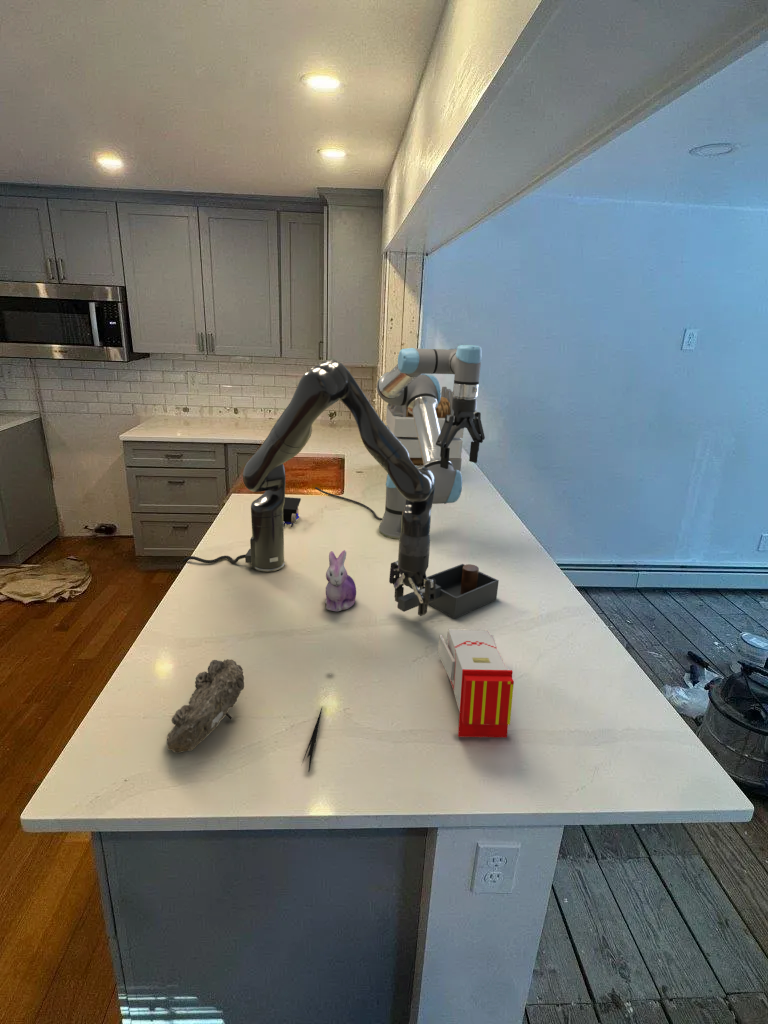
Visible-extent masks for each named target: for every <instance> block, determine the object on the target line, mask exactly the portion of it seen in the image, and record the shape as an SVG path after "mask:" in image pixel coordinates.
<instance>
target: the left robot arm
mask: <svg viewBox="0 0 768 1024" xmlns="http://www.w3.org/2000/svg"><path fill="white" fill-rule="evenodd" d="M338 401H340V402H341V403H342V404H344V406H345V407H346V408H347V409H348V410H349V412H350V414H351V415H352V418H353V419H354V421H355V423H356V426H357V430H358V432H359V436H360V439H361V441H362V443H363V445H364V448H365V449H366V450H367V451H368V453H369V455H371V456H372V457H373V458H374V460H375V461H376V462H377V463H378V464H379V466H381V467H382V468H383V469H384V470H385V472H386V473H387V474H388V475H389V477H390V478H391V480H392V482H393V483H394V485H395V486H396V488H397V489H398V491H399V492H400V493H401V494H402V495H403V496H404V497H405V498H406V504H405V508H404V510H403V513H402V520H401V534H400V539H399V540H398V555H397V560H396V561H393V562H391V563H390V569H389V570H390V571H389V578H388V583H389V584H390V585H393V588H394V601H395V602H396V603H398V597H401V596H404V593H405V592H404V591H405V588H404V586H406V587H409V588H410V589H411V590H413V592H414V593H415V595H417V596H418V599H419V601H420V602H419V606H417V607H418V608H417V615H418V616H420V617H422V616H425V615H426V614H427V613H428V605H429V604H428V603H431V602H433V601H435V588H436V580H435V579H434V578H433V579H429V578H427V577H428V576H427V570H428V568H429V563H430V551H431V550H430V549H431V548H430V547H431V525H432V524H431V522H432V521H431V520H432V508H433V504H432V503H433V497H434V491H435V478H434V475H433V473H432V472H431V471H430V470H429V469H427V468H425V467H423V466H415V465H414V464H413V463H412V461H411V460H410V458H409V452H408V451H407V449H406V448H405V447H404V446H402V445H403V444H402V443H401V442H400V441H399V440H398V439H397V438H396V437H395V436H394V434H393V433H392V432H391V431H390V430H389V429H388V428H387V424H385V423H384V421H383V420H382V419H381V417H380V415H379V414H378V413H377V411H376V410H375V409H374V407H373V405H372V404H371V402H370V401H369V399H368V397H367V396H366V395H365V393H364V391H363V390H362V389H361V387H360V386H359V384H358V383H357V381H356V379H355V378H354V377H353V375H352V373H351V372H350V371H349V369H348V368H347V367H346V366H345V365H344V364H343V363H342V362H340V361H339V360H338V359H334V358H333V359H332V358H328V359H325V360H323V361H322V362H320V363H318V364H316V365H314V366H313V367H312V368H309V370H307V371H306V372H305V373H304V374H303V375H302V376H301V378H300V379H299V381H298V384H297V386H296V389H295V391H294V393H293V395H292V398H291V400H290V402H289V403H288V405H287V407H285V408H284V410H283V411H282V413H281V414H280V416H279V418H278V419H277V420H276V422H275V423H274V425H273V426H272V428H271V430H270V432H269V433H268V435H267V437H266V438H265V440H264V441H263V442H262V444H261V445H260V446H259V448H258V449H257V451H255V453H254V454H253V455H251V457H250V458H249V459H248V460H247V462H246V463H245V465H244V467H243V471H242V482H243V485H244V486H245V487H246V489H247V490H248V491H250V492H253V493H262V492H263V494H262V495H260V496H259V497H258V498H256V499H255V500H253V501H252V502H251V504H250V515H251V516H250V517H251V518H250V519H251V521H250V522H251V537H250V539H249V544H250V545H249V546H250V548H249V549H248V550H247V551H246V553H245V554H241V555H238V556H236V557H235V558H232V557H231V556H229V555H221V556H219V557H217V558H214V559H204V558H201V557H198V556H194V555H190V556H189V555H188V556H186V557H185V558H184V559H182V562H183V563H185V562H188V561H189V560H193V561H197V562H199V563H203V564H214V563H217V562H220V561H222V560H228V561H229V562H230V563H231V564H237V563H238V561H240V560H241V559H245V560H244V562H245V564H250V567H251V569H252V570H256V571H259V572H263V573H269V572H271V573H272V572H277V571H279V570H281V569H283V568H284V567H285V543H284V542H285V538H284V537H285V536H284V533H285V532H284V531H285V530H284V528H285V527H283V523H284V522H283V506H284V503H285V497H286V481H287V480H286V477H287V476H286V469H285V465H284V464H285V463H287V462H288V461H290V460H292V459H293V458H295V457H296V456H298V454H299V453H300V452H301V451H302V450H303V449H304V447H305V446H306V445H307V444H308V442H309V440H310V439H311V437H312V434H313V424H314V423H315V421H316V420H317V419H318V418H319V417H320V416H321V415H322V414H323V413H324V412H325V411H326V410H327V409H329V408H330V407H331V406H333V405H334V404H336V403H337V402H338ZM421 586H422V590H419V589H420V587H421ZM421 593H423V595H424V597H422V594H421Z"/></svg>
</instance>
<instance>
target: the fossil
mask: <svg viewBox="0 0 768 1024" xmlns="http://www.w3.org/2000/svg"><path fill="white" fill-rule="evenodd" d="M243 670H244V669H243V667H242V665H240V664H237V662H236V661H235V660H234V659H232V658H231V659H227V658H226V659H224V660H223V661H222V660H217V659H212V660H211V661H210V663H209V665H208V666H207V671H201V672H199V673H198V674H197V675H196V676H195V680H194V684H195V685H194V687H195V689H194V690H193V693H192V694H191V697H190V698H189V700H188V704H184V705H182V706H181V707H180V709H177V710H176V711H175V713H174V715H173V716H172V718H171V723H172V724H173V727H172V730H171V731H170V732H168V734H167V738H166V741H167V742H166V745H167V749H168V750H169V751H173V752H174V753H176V754H178V753H182V752H188V751H189V752H192V751H193V750H195V748H196V747H197V746H199V744H200V743H201V742H203V741H204V740H205V739H206V738H207V737H208V736H209V735H210V734H211V733H212V732H214V730H215V729H217V727H218V726H219V724H220V722H221V721H222V720H223V719H224V718H225V716H226V717H227V719H229V720H233V717H232V715H230V714H229V710H230V709H231V708H234V706H235V704H236V703H237V702H238V699H239V697H240V695H241V693H242V691H243V690H245V689H244V688H245V675H244V671H243Z"/></svg>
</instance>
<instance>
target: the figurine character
mask: <svg viewBox="0 0 768 1024" xmlns="http://www.w3.org/2000/svg"><path fill="white" fill-rule="evenodd" d="M301 500H302V498H301V497H290V496H289V497H288V496H285V503H284V506H283V528H286V525H290V528H293V527H294V524H296V523H297V520H298V519H300V516H299V512H300V511H299V506H300V503H301Z"/></svg>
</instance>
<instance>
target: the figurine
mask: <svg viewBox="0 0 768 1024" xmlns="http://www.w3.org/2000/svg"><path fill="white" fill-rule="evenodd" d="M346 558H347V551H346V550H345V549H343V550H342V551H341V552H340V554H339V555H338V557H337V556H336V555H335V552H334V551H332V550H331V551H330V552H329V553H328V564H329V566H328V568H327V570H326V573H325V578H326V581H327V584H326V585H325V601H324V602H325V605H326V606H325V608H326V610H328V611H333V612H340V611H343V610H345V611H346V610H348V609H350V608H351V607H353V606H354V605H355V603H356V600H357V599H356V598H357V586H356V582H355V581H354V579H353V577H351V576H350V575H349V574H348V571H347V568H346V566H345V561H346V560H347V559H346Z"/></svg>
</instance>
